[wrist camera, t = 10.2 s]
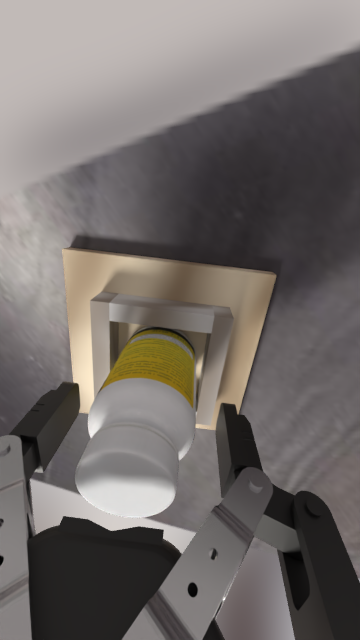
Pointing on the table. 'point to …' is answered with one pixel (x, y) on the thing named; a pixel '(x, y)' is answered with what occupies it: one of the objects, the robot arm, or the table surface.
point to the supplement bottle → (141, 425)
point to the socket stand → (165, 319)
